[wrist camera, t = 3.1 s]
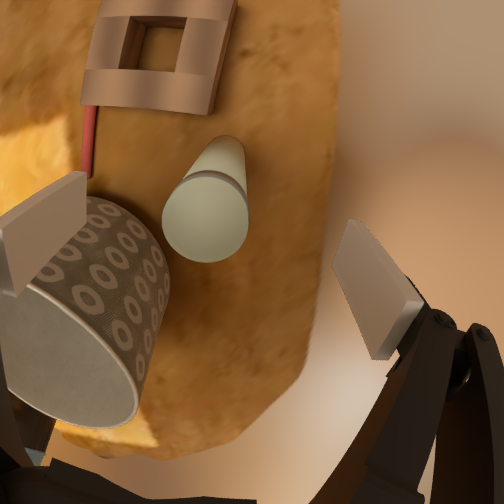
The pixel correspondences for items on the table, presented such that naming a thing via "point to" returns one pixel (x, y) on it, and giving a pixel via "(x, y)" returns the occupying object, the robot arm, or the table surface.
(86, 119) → the red rod
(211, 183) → the banded green cylinder
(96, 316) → the planter
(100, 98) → the square wooden socket block
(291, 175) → the table surface
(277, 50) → the table surface
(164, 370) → the table surface
